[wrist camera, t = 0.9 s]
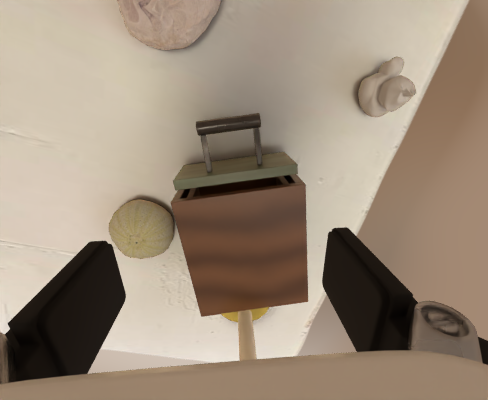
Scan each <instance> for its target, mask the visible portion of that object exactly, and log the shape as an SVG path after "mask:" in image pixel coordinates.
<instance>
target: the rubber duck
mask: <svg viewBox="0 0 488 400" xmlns="http://www.w3.org/2000/svg"><path fill="white" fill-rule="evenodd" d="M403 65H404V60H403V59H402V58H401V57H394V58H392V59H391V60H390V61H387V62H385V63H383V64H382V65H381V66H380V68H379V71H378V73H377V74H373V75H371V76H370V77H367V78H365V79H364V80H363V81H362V82H361V85H360V88H359V92H358V97H359V103H360V106H361V108H362V109H363V111H364V112H365V113H366V114H367V115H369V116H371V117H380V116H382V115H384V114H386V113H387V112H392V111H395V110H397V109H398V108H400V107H401V106H402V105H404V104H405V103H406V102H408V101H409V100H410V99H411V97H412V96H413V95H415V93H416V90H415V86H414V84H413V82H412V81H411V80H410V79H408V78H406V77H404V76H402V75H399V74H400V72H401V70H402V68H403Z"/></svg>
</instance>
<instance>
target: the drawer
mask: <svg viewBox="0 0 488 400" xmlns="http://www.w3.org/2000/svg"><path fill="white" fill-rule="evenodd" d="M259 127H261V120H260V114H259V113H257V114H249V115H242V116H235V117H227V118H220V119H212V120H205V121H198V122H196V129H197V133H198V135H199V136H200V135H201V136H200V137H201V142H202V147H203V152H204V158H205V163H198V164H191V165H184V166H183V168H182V169H181V170H180V172H179V173H178V175H177V176H176V178H175V179H174V180H173V183H174V186H175V190H183V189H190V188H191V189H190V192H189V194H188V196H187V198H189V197H197V196H204V195H211V194H219V193H226V192H233V191H240V190H248V189H255V188H262V187H270V186H277V185H284V184H289V183H288V182H287V180H286V179H285V177H284V176H285V175H293V174H298V171H297V163H296V162H295V161H293V160H292V159H291V158H290V157H289V156H288V155H287V154H286V153H285V152H279V153H271V154H264V155H261V144H260V134H259ZM252 128H253V131H254V140H255V150H256V156H249V157H242V158H235V159H227V160H220V161H213V162H211V159H210V153H209V148H208V143H207V137H206V135H207V134H215V133H222V132H230V131H237V130H244V129H252Z"/></svg>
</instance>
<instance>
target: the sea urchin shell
mask: <svg viewBox="0 0 488 400" xmlns="http://www.w3.org/2000/svg"><path fill="white" fill-rule="evenodd" d="M109 232H110V235H111V238H112V240H113V241H114V243H115V244H116V246H117V247H118V249H119V250H120V251H121V252H122V253H123V254H124V255H125V256H128V257H130V258H140V259H143V258H149V257H154V256H157V255H159V254H162V253H163V252H164V251H165V250H166V249H168V248H169V245H170V243H171V241H172V239H173V232H174V225H173V219H172V217H171V215H170V213H169V212H168V211H166V210H165V209H164V208H163V207H162V206H160V205H157V204H156V203H153V202H151V201H145V200H141V199H138V200H132V201H130V202H128V203H126V204H124V205H122V207H121V208H120V209H118V210H117V211H116V212H115V213H114V215H113V217H112V219H111V221H110V223H109Z"/></svg>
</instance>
